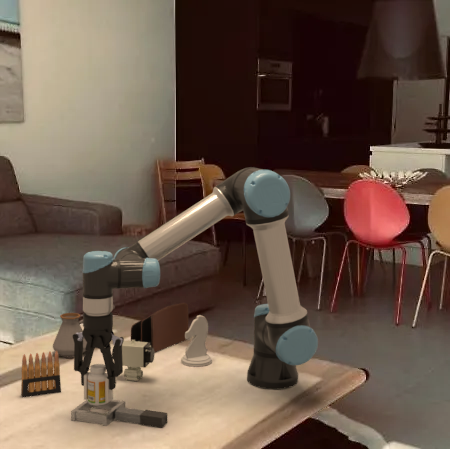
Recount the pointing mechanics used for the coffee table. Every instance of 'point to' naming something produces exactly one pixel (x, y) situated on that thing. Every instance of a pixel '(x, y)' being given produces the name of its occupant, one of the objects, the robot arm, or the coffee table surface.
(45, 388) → the ammunition clip
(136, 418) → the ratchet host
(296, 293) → the robot arm
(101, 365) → the supplement bottle
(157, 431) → the coffee table surface
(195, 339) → the chess piece
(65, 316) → the coffee pot
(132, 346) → the pneumatic valve
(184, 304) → the letter holder
